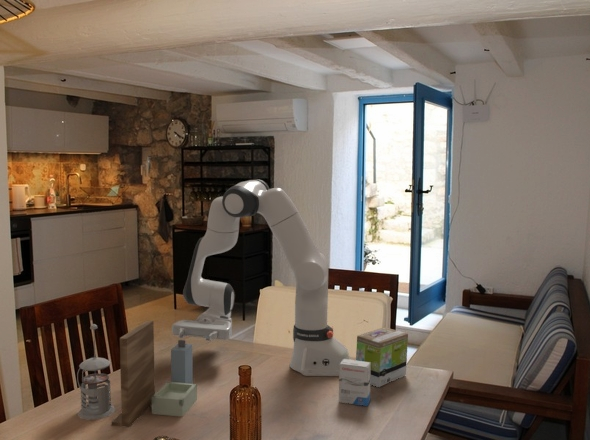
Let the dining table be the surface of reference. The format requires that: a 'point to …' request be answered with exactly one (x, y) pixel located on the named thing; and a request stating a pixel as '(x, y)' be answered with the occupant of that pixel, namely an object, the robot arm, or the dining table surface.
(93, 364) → the french press
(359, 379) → the ink box
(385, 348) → the tea box
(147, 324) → the wooden flat block
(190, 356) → the grey block with tab
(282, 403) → the dining table surface
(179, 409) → the pale green open box
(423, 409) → the dining table surface
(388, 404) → the dining table surface
